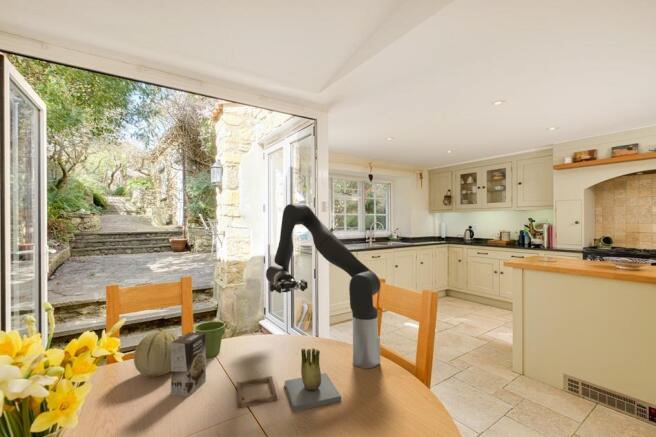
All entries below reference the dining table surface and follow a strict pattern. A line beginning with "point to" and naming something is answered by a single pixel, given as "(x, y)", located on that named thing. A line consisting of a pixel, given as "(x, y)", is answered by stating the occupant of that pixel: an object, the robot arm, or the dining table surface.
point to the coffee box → (188, 363)
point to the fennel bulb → (310, 369)
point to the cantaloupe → (154, 354)
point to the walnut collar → (259, 399)
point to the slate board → (311, 393)
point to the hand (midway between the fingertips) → (292, 289)
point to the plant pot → (211, 336)
